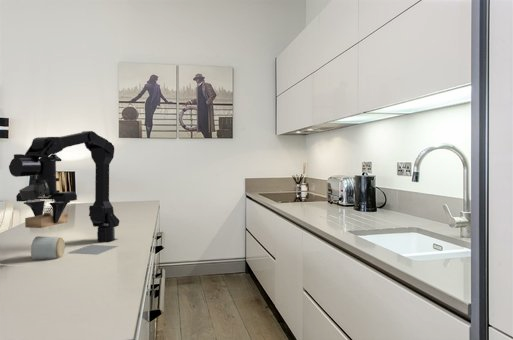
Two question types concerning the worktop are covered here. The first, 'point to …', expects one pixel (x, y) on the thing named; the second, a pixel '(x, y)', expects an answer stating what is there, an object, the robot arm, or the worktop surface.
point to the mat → (93, 249)
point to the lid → (44, 220)
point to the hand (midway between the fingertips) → (47, 222)
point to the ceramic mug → (47, 248)
